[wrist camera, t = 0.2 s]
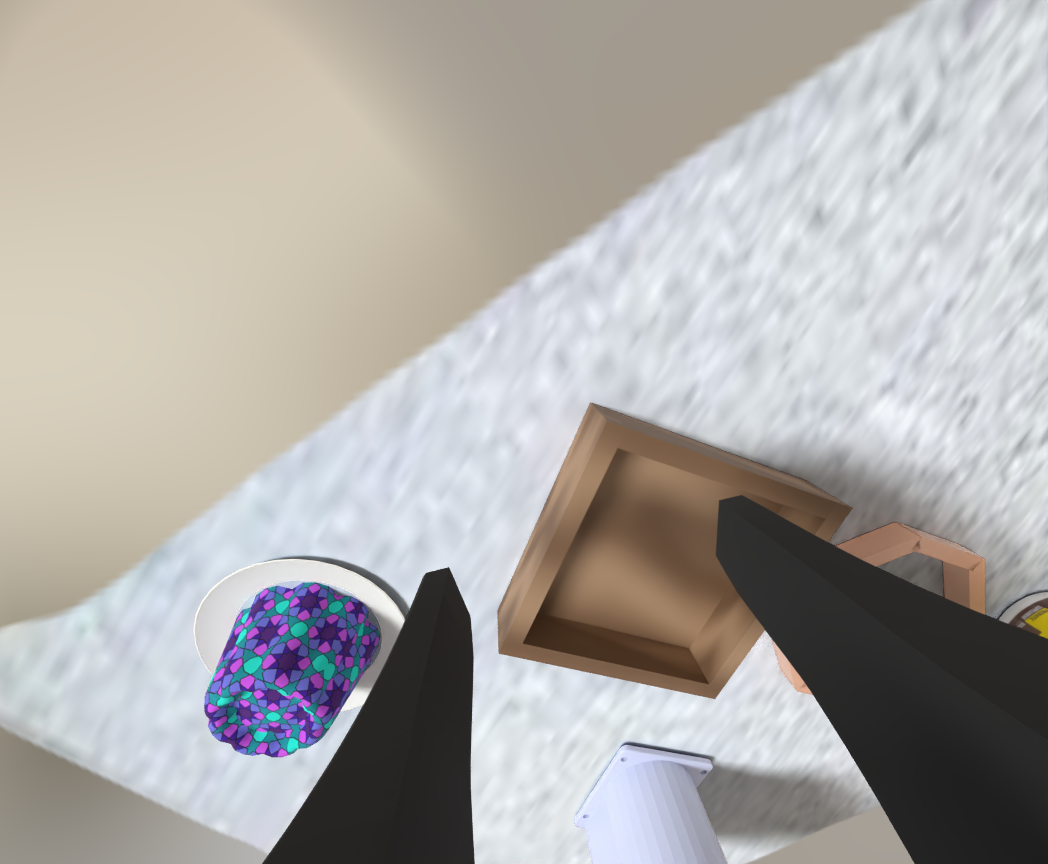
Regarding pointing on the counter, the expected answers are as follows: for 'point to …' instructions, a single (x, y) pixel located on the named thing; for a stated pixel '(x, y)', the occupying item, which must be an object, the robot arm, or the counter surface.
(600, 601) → the tray
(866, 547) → the collar
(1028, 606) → the supplement bottle
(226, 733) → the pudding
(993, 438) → the counter surface
